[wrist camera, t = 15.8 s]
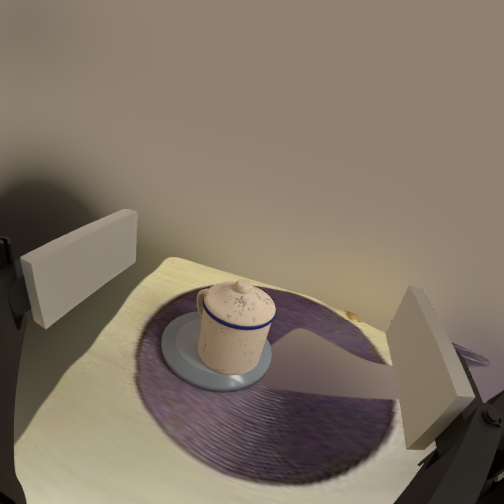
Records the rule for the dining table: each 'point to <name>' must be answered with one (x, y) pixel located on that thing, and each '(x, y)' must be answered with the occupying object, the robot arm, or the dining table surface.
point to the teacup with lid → (233, 326)
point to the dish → (193, 368)
